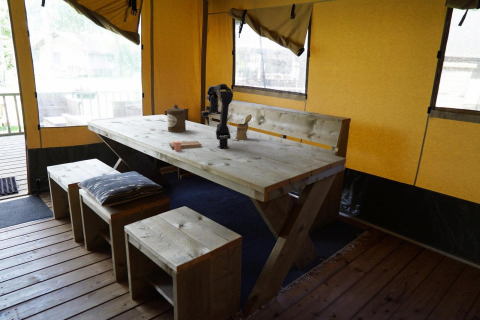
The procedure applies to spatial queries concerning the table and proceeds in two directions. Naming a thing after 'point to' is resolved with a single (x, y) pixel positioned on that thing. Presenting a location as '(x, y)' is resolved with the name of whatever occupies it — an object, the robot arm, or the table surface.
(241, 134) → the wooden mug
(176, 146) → the pink and yellow hammer
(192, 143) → the board
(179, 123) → the wooden container
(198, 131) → the table surface
